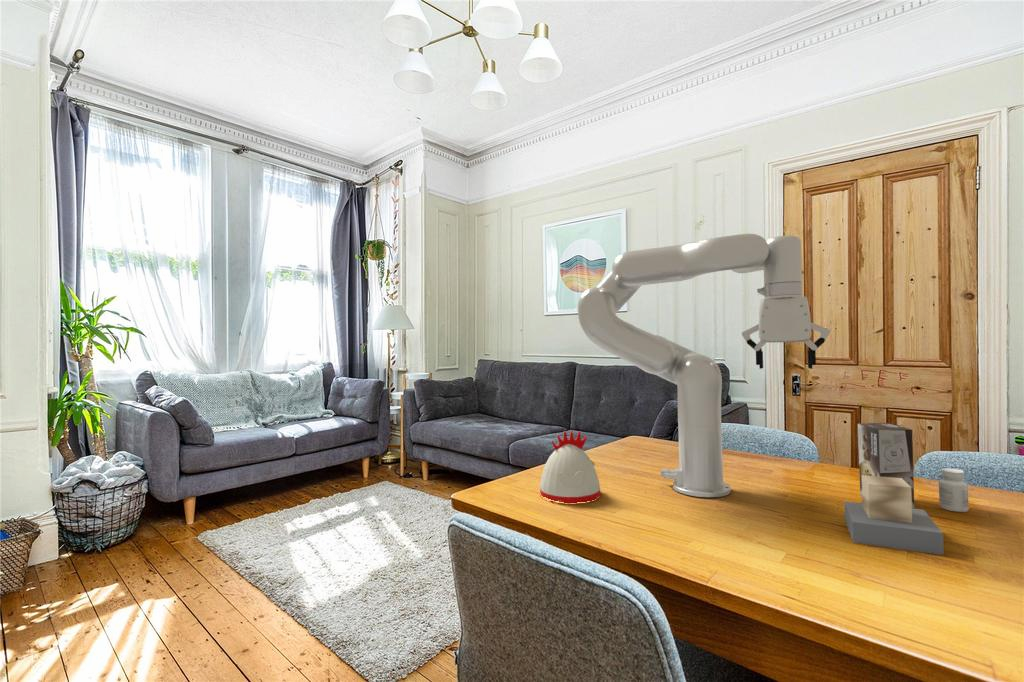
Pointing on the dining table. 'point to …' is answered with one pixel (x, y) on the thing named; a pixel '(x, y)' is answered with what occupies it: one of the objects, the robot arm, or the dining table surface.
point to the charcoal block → (894, 531)
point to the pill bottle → (953, 491)
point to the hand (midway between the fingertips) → (785, 368)
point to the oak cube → (886, 498)
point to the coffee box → (886, 452)
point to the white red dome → (570, 473)
